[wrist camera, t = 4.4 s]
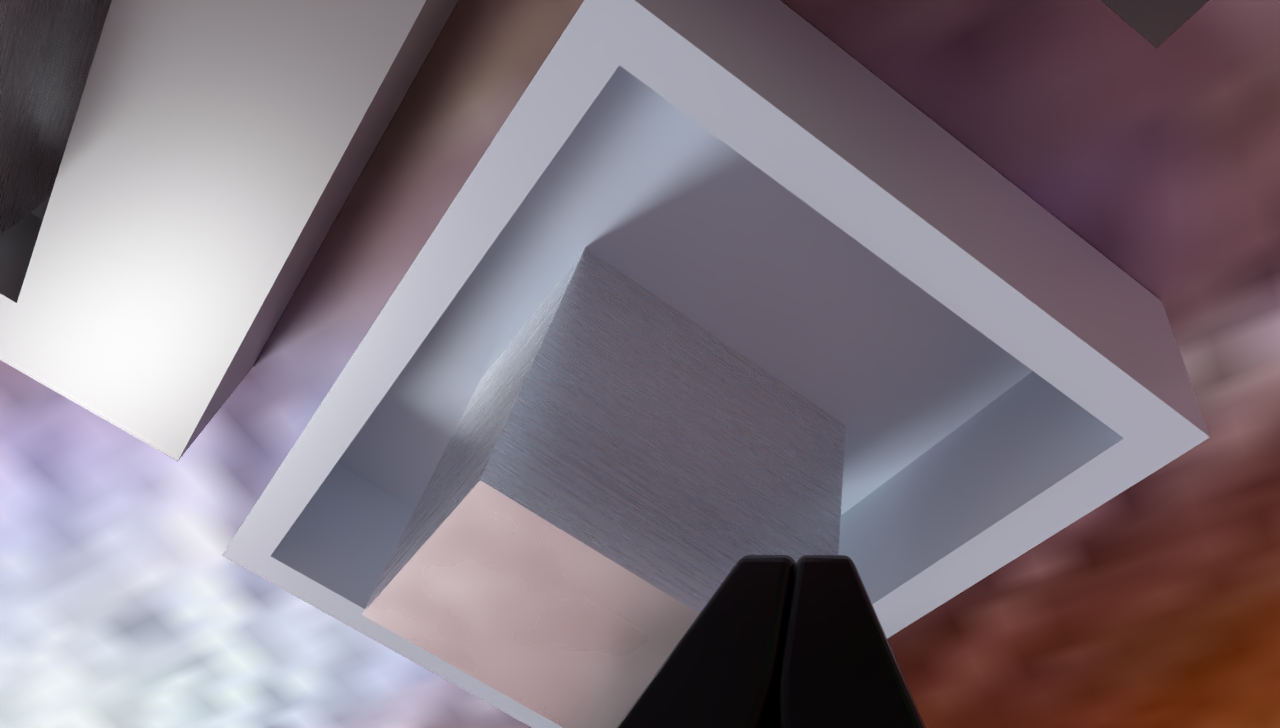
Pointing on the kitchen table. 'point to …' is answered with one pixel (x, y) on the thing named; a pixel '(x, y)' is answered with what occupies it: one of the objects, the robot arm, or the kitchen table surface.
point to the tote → (756, 309)
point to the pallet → (198, 196)
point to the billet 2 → (604, 499)
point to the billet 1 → (41, 93)
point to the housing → (1155, 16)
